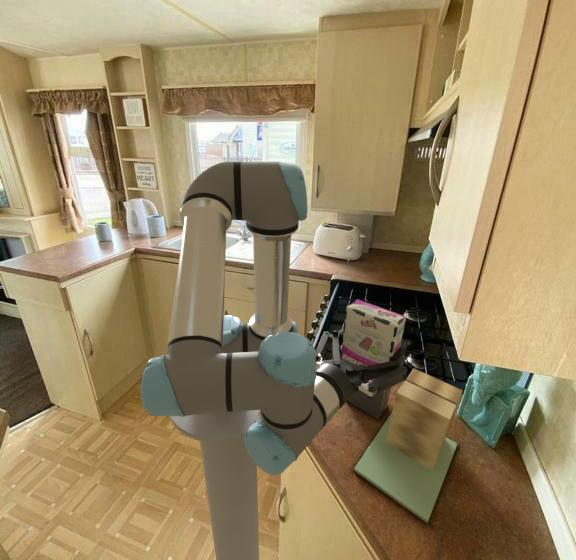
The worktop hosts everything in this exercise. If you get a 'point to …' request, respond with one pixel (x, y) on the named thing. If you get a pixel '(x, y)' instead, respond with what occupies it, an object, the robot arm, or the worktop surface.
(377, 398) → the grey box
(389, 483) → the sage board
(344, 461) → the worktop surface
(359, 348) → the candy bar box
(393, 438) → the cardboard box
